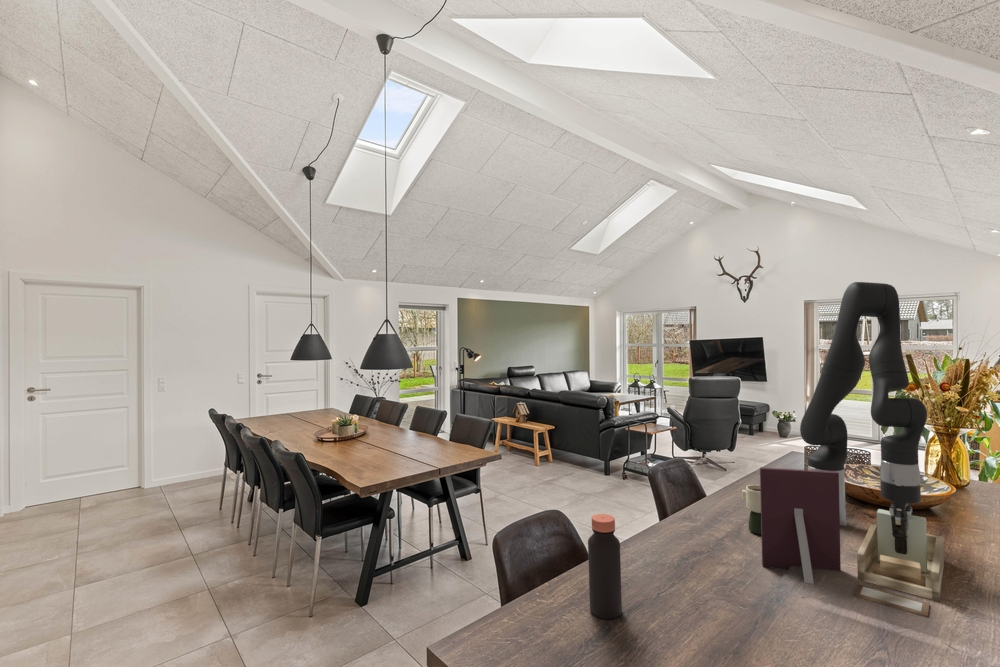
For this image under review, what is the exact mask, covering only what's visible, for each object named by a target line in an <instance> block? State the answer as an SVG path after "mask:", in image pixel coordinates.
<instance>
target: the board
mask: <svg viewBox="0 0 1000 667" xmlns="http://www.w3.org/2000/svg"><path fill="white" fill-rule="evenodd" d="M853 597H856V598H859V599H863V600H866V601H870V602H873V603H878V604H881V605H884V606H887V607H891V608H894V609H897V610H901V611H904V612H908V613H910V614H915V615H917V616H920V617H921V616H922V617H924V618H929V617H928V616H929V610H930V602H925V601H922V600H919V599H915V598H911V597H908V596H904V595H901V594H898V593H897V594H896V593H895V592H890V591H886V590H883V589H878V588H876V587H871V586H868V585H865V584H860V583H857V586H856V588H855V591H854V593H853Z"/></svg>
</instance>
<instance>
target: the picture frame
mask: <svg viewBox="0 0 1000 667" xmlns="http://www.w3.org/2000/svg"><path fill="white" fill-rule="evenodd" d="M759 482H760V484H759V485H760V495H761V565H762V567H763V568H769V569H778V570H779V569H780V570H785V571H788V570H790V568H791V567H800V568H802V573H803V580H804V583H807V584H813V585H814V584H815V582H814V576H813V569H818V570H826V571H834V572H835V571H836V572H841V568H842V567H841V564H842V563H841V525H840V511H839V473H838V472H831V471H813V470H808V469H793V468H779V467H778V468H776V467H775V468H773V467H759Z"/></svg>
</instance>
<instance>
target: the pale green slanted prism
mask: <svg viewBox="0 0 1000 667" xmlns="http://www.w3.org/2000/svg"><path fill="white" fill-rule="evenodd" d="M909 521H910V528H909V529H908V530H907V536H908V538H907V554H901V553H897V552H896V551H895V537H893V535H892V533H893V532H892V526H891V514H890V510H886V509H882V508H881V509H880V508H878V509H877V510H876V524H877V541H878V561H880V555H884V556H889V557H893V558H898V559H903V560H908V561H913V562H918V563H920V568H921V571H922V572H926V573H927V536H926V534H927V518H926V517H924V516H917V515H913V514H911V517H910V520H909ZM906 524H907V519H906ZM906 524H905V525H906ZM897 532H900V533H903V532H902V531H898V530H897Z"/></svg>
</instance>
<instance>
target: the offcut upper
mask: <svg viewBox="0 0 1000 667" xmlns="http://www.w3.org/2000/svg"><path fill="white" fill-rule="evenodd" d="M880 571H883V572H888V573H892V574H897V575H901V576H906V577H910V578H915V579H919V580H921V568H920V563H918V562H913V561H908V560H903V559H898V558H893V557H889V556H884V555H880Z"/></svg>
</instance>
